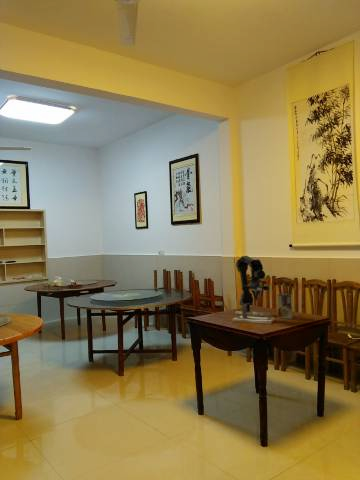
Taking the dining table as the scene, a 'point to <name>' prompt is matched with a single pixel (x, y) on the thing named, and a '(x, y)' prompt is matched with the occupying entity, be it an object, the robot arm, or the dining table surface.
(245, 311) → the dark angular block
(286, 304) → the coffee box
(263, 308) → the dining table surface
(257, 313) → the pipe stand
